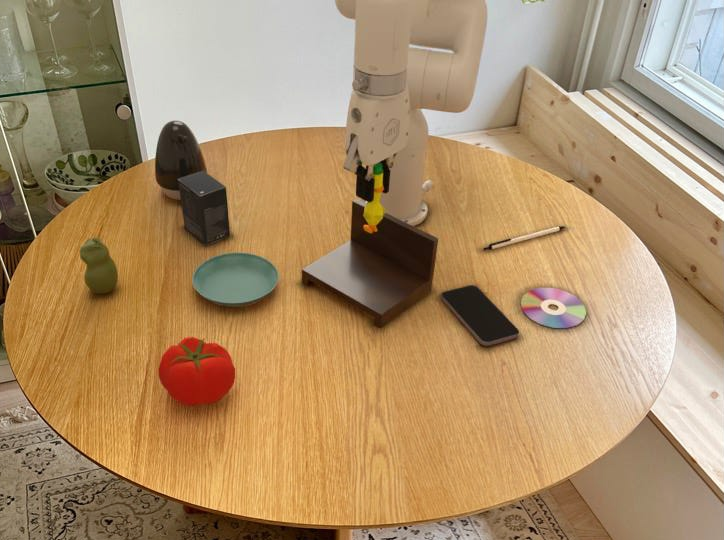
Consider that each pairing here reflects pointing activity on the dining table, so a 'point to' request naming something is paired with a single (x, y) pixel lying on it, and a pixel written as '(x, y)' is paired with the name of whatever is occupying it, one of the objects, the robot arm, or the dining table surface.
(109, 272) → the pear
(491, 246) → the pen
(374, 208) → the toy figure
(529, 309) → the cd
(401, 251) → the shelf
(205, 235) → the box
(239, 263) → the saucer
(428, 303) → the dining table surface
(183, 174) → the dark brown egg shape
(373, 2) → the robot arm
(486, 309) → the smartphone
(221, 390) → the tomato
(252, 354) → the dining table surface
